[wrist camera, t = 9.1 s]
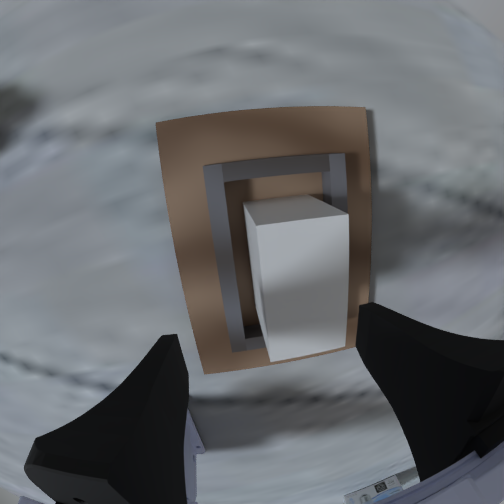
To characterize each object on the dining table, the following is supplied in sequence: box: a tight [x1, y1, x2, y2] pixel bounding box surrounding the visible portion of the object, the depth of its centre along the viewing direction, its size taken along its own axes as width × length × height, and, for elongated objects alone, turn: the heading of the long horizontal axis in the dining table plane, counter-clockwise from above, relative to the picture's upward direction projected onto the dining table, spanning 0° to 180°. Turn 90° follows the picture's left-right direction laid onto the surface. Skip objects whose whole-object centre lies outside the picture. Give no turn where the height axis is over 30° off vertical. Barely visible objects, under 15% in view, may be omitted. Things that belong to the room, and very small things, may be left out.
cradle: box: [156, 106, 372, 374], centre depth 19 cm, size 18×13×2 cm
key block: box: [243, 194, 349, 362], centre depth 16 cm, size 4×7×6 cm, turn 6°
